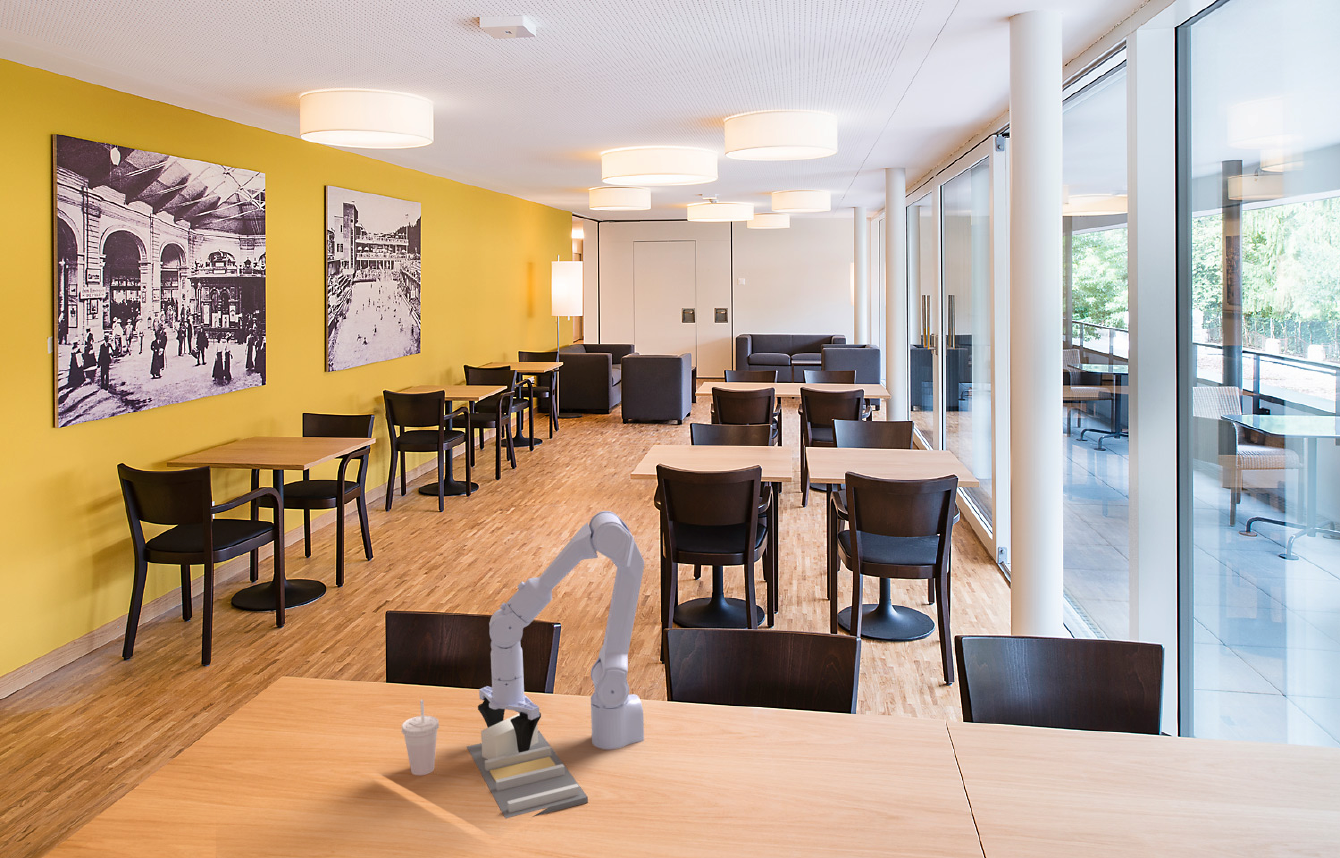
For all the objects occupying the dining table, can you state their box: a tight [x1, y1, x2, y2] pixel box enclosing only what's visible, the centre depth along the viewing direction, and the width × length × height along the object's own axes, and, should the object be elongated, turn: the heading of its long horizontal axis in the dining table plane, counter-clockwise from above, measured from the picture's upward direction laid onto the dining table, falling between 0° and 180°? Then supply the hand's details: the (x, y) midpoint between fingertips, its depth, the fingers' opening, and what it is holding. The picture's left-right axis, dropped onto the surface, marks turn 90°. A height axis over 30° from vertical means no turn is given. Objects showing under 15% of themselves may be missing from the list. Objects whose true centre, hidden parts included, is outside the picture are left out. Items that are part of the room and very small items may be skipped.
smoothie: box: [401, 699, 440, 776], centre depth 161 cm, size 6×6×14 cm
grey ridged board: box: [466, 730, 589, 819], centre depth 161 cm, size 14×27×2 cm, turn 25°
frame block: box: [480, 713, 539, 760], centre depth 168 cm, size 10×4×5 cm, turn 140°
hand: (510, 745), depth 168 cm, fingers open, 7 cm apart
